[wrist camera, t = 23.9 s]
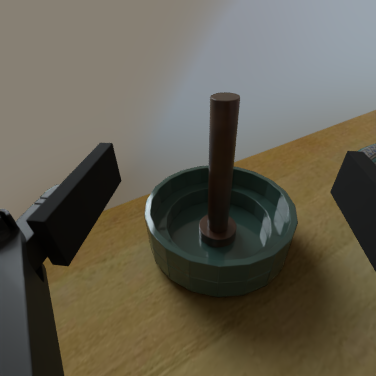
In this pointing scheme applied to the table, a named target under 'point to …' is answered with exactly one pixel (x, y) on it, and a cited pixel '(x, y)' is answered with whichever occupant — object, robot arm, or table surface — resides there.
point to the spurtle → (220, 170)
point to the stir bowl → (229, 255)
